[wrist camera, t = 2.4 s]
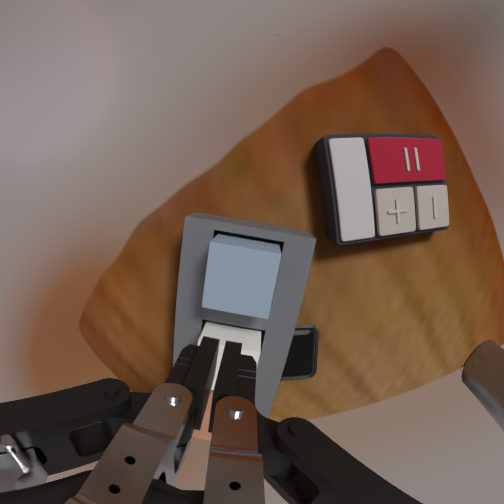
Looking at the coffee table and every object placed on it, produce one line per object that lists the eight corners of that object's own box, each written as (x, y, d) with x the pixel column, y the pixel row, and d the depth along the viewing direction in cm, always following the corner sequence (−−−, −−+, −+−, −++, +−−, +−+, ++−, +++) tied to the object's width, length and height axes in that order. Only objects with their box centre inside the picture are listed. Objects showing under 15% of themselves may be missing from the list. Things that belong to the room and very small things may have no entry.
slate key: (279, 244, 25) (281, 254, 21) (267, 301, 26) (268, 319, 22) (218, 234, 25) (210, 241, 21) (210, 290, 26) (201, 306, 22)
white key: (261, 331, 27) (260, 352, 23) (251, 373, 28) (250, 396, 24) (206, 321, 27) (198, 340, 23) (201, 364, 28) (194, 386, 24)
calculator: (453, 230, 25) (339, 248, 25) (433, 225, 29) (327, 240, 30) (443, 134, 23) (324, 133, 23) (423, 139, 27) (314, 141, 27)
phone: (193, 330, 32) (319, 327, 31) (195, 326, 33) (317, 322, 32) (201, 380, 33) (315, 378, 32) (203, 375, 34) (314, 373, 33)
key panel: (307, 231, 29) (316, 238, 24) (263, 409, 35) (262, 434, 30) (198, 212, 29) (185, 216, 24) (181, 394, 35) (172, 417, 30)
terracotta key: (246, 394, 29) (244, 417, 25) (239, 423, 30) (237, 445, 26) (199, 386, 29) (192, 407, 25) (197, 415, 30) (190, 436, 26)
